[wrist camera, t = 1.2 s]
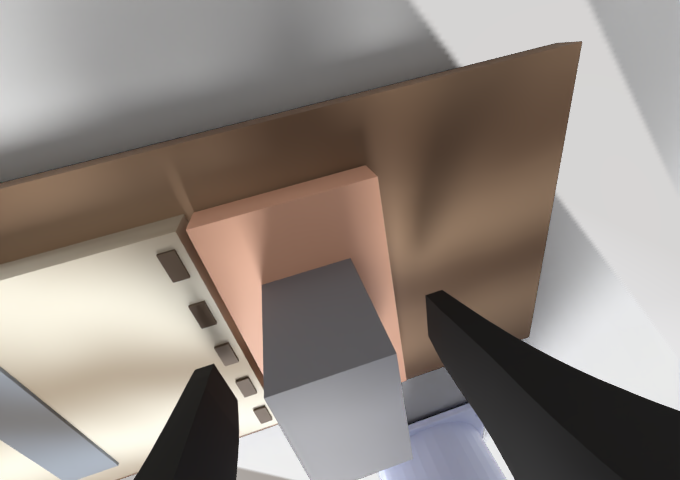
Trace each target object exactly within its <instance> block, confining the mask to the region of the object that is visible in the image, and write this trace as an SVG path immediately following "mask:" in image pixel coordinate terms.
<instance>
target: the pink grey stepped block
mask: <svg viewBox="0 0 680 480" xmlns="http://www.w3.org/2000/svg"><path fill="white" fill-rule="evenodd" d="M186 232H187V234H188V236H189V238H190V239H191V241H192V243H193V245H194V247H195V249H196V251H197V253H198V254H199V256H200V258H201V260H202V262H203V264H204V266H205V267H206V269H207V271H208V273H209V275H210V277H211V279H212V281H213V282H214V284H215V286H216V288H217V290H218V292H219V294H220V296H221V297H222V299H223V301H224V303H225V305H226V307H227V309H228V310H229V312H230V314H231V316H232V318H233V320H234V322H235V324H236V325H237V327H238V329H239V331H240V333H241V335H242V337H243V339H244V340H245V342H246V344H247V346H248V348H249V350H250V352H251V354H252V355H253V357H254V359H255V361H256V363H257V365H258V367H259V368H260V370H261V372H262V374H263V381H264V400H265V401H266V403H267V405H268V407H269V408H270V410H271V412H272V414H273V415H274V417H275V419H276V421H277V422H278V424H279V426H280V428H281V429H282V431H283V433H284V435H285V436H286V438H287V440H288V442H289V444H290V445H291V447H292V449H293V451H294V452H295V454H296V456H297V458H298V459H299V461H300V463H301V465H302V466H303V468H304V470H305V472H306V473H307V475H308V477H309V479H310V480H358V479H361V478H364V477H366V476H369V475H372V474H374V473H377V472H380V471H382V470H385V469H388V468H390V467H393V466H396V465H398V464H401V463H404V462H406V461H409V460H412V459H413V455H412V448H411V442H410V435H409V429H408V423H407V416H406V410H405V404H404V397H403V391H402V385H401V382H404V381H407V380H406V373H405V366H404V359H403V352H402V345H401V338H400V331H399V324H398V317H397V310H396V302H395V295H394V288H393V281H392V274H391V267H390V260H389V253H388V246H387V239H386V232H385V224H384V217H383V210H382V203H381V196H380V189H379V182H378V176H377V175H376V174H375V173H373V172H372V171H371V170H370V169H369V168H368V167H367V166H366V165H364V166H361V167H357V168H353V169H350V170H346V171H342V172H339V173H335V174H332V175H328V176H324V177H321V178H317V179H313V180H310V181H306V182H302V183H299V184H295V185H292V186H288V187H284V188H281V189H277V190H273V191H270V192H266V193H263V194H259V195H255V196H252V197H248V198H244V199H241V200H237V201H233V202H230V203H226V204H223V205H219V206H215V207H212V208H208V209H204V210H201V211H197V212H194V213H193V214H192V216H191V219H190V221H189V223H188V226H187V228H186Z"/></svg>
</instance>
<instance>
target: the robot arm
mask: <svg viewBox="0 0 680 480" xmlns="http://www.w3.org/2000/svg"><path fill="white" fill-rule="evenodd" d="M425 298H426V312H427V326H428V337H429V339H430V341H431V342H432V344H433V346H434V348H435V350H436V352H437V354H438V356H439V358H440V360H441V362H442V363H443V365H444V367H445V368H446V370H447V371H448V373H449V374H450V376H451V377H452V379H453V380H454V382H455V383H456V385H457V386H458V388H459V389H460V391H461V392H462V394H463V395H464V396H465V398H466V399H467V401H468V402H469V403H468V404H465V405H462V406H459V407H457V408H454V409H451V410H448V411H446V412H443V413H440V414H437V415H435V416H432V417H429V418H426V419H424V420H421V421H418V422H415V423H413V424H410V425H408V429H409V435H410V442H411V448H412V455H413V459H412V460H409V461H406V462H404V463H401V464H398V465H396V466H393V467H390V468H388V469H385V470H382V471H380V472H379V475H380V479H381V480H507V479H506V477H505V476H504V474H503V472H502V471H501V469H500V467H499V466H498V464H497V462H496V461H495V459H494V457H493V456H492V454H491V452H490V451H489V449H488V447H487V446H486V444H485V442H484V441H483V428H484V426H485V428H486V430H487V431H488V433H489V434H490V436H491V438H492V439H493V441H494V443H495V444H496V446H497V448H498V450H499V452H500V453H501V455H502V457H503V459H504V461H505V462H506V464H507V466H508V468H509V470H510V471H511V473H512V475H513V477H514V479H515V480H680V411H678V410H675V409H673V408H670V407H667V406H664V405H662V404H659V403H656V402H653V401H651V400H648V399H646V398H643V397H641V396H638V395H636V394H633V393H631V392H629V391H626V390H624V389H621V388H619V387H617V386H614V385H612V384H609V383H607V382H604V381H602V380H600V379H597V378H595V377H593V376H591V375H588V374H586V373H584V372H582V371H580V370H577V369H575V368H573V367H571V366H569V365H567V364H565V363H563V362H561V361H559V360H557V359H555V358H553V357H551V356H549V355H547V354H545V353H543V352H542V351H540V350H538V349H536V348H534V347H532V346H531V345H529V344H527V343H525V342H523V341H522V340H520V339H518V338H516V337H515V336H513V335H511V334H510V333H508V332H506V331H505V330H503V329H501V328H500V327H498V326H497V325H495V324H493V323H492V322H490V321H489V320H487V319H485V318H484V317H482V316H481V315H479V314H478V313H476V312H475V311H473V310H472V309H470V308H469V307H467V306H466V305H464V304H463V303H461V302H460V301H458V300H457V299H455V298H454V297H452V296H451V295H449V294H448V293H446V292H445V291H443V290H440V291H437V292H434V293H431V294H427V295H425ZM238 446H239V413H238V400H237V398H236V397H235V395H234V394H233V392H232V390H231V389H230V387H229V386H228V384H227V383H226V381H225V380H224V378H223V377H222V375H221V374H220V372H219V370H218V369H217V367H216V366H215V364H211V365H208V366H205V367H202V368H198V369H195V370H194V372H193V374H192V376H191V377H190V379H189V381H188V383H187V385H186V387H185V389H184V391H183V392H182V394H181V396H180V398H179V400H178V402H177V404H176V406H175V408H174V410H173V411H172V413H171V415H170V417H169V419H168V421H167V423H166V424H165V426H164V428H163V430H162V432H161V433H160V435H159V437H158V439H157V441H156V442H155V444H154V446H153V448H152V450H151V451H150V453H149V455H148V457H147V458H146V460H145V462H144V463H143V465H142V467H141V468H140V470H139V472H138V473H137V475H136V477H135V478H134V480H236V474H237V461H238Z"/></svg>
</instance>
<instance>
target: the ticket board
mask: <svg viewBox="0 0 680 480" xmlns="http://www.w3.org/2000/svg"><path fill="white" fill-rule="evenodd" d="M581 46H582V41H580V42H565V43H555V44H551V45H547V46H543V47H539V48H535V49H531V50H527V51H523V52H519V53H515V54H511V55H508V56H503V57H499V58H495V59H491V60H487V61H483V62H480V63H475V64H472V65H468V66H464V67H460V68H456V69H452V70H448V71H444V72H440V73H436V74H432V75H428V76H424V77H420V78H416V79H412V80H408V81H404V82H400V83H396V84H392V85H388V86H384V87H380V88H376V89H372V90H368V91H364V92H360V93H356V94H352V95H348V96H344V97H340V98H336V99H332V100H329V101H325V102H321V103H317V104H313V105H309V106H305V107H301V108H297V109H293V110H289V111H285V112H281V113H277V114H273V115H269V116H265V117H261V118H257V119H253V120H249V121H245V122H241V123H237V124H233V125H229V126H225V127H221V128H217V129H213V130H209V131H205V132H201V133H197V134H193V135H189V136H186V137H182V138H178V139H174V140H170V141H166V142H162V143H158V144H154V145H150V146H146V147H142V148H138V149H134V150H130V151H126V152H122V153H118V154H114V155H110V156H106V157H102V158H98V159H94V160H90V161H86V162H82V163H78V164H74V165H70V166H66V167H62V168H58V169H54V170H50V171H46V172H43V173H39V174H35V175H31V176H27V177H23V178H19V179H15V180H11V181H7V182H3V183H0V480H120V479H123V478H126V477H129V476H131V475H134V474H137V473H138V472H139V470H140V468H141V467H142V465H143V463H144V462H145V460H146V458H147V457H148V455H149V453H150V451H151V450H152V448H153V446H154V444H155V442H156V441H157V439H158V437H159V435H160V433H161V432H162V430H163V428H164V426H165V424H166V423H167V421H168V419H169V417H170V415H171V413H172V411H173V410H174V408H175V406H176V404H177V402H178V400H179V398H180V396H181V394H182V392H183V391H184V389H185V387H186V385H187V383H188V381H189V379H190V377H191V376H192V374H193V372H194V370H195V369H198V368H202V367H205V366H208V365H211V364H215V366H216V367H217V369H218V370H219V372H220V374H221V375H222V377H223V378H224V380H225V381H226V383H227V384H228V386H229V387H230V389H231V390H232V392H233V394H234V395H235V397H236V398H237V400H238V413H239V438H241V437H243V436H246V435H249V434H252V433H255V432H258V431H261V430H264V429H266V428H269V427H272V426H275V425H278V422H277V421H276V419H275V417H274V415H273V414H272V412H271V410H270V408H269V407H268V405H267V403H266V401H265V400H264V381H263V374H262V372H261V370H260V368H259V367H258V365H257V363H256V361H255V359H254V357H253V355H252V354H251V352H250V350H249V348H248V346H247V344H246V342H245V340H244V339H243V337H242V335H241V333H240V331H239V329H238V327H237V325H236V324H235V322H234V320H233V318H232V316H231V314H230V312H229V310H228V309H227V307H226V305H225V303H224V301H223V299H222V297H221V296H220V294H219V292H218V290H217V288H216V286H215V284H214V282H213V281H212V279H211V277H210V275H209V273H208V271H207V269H206V267H205V266H204V264H203V262H202V260H201V258H200V256H199V254H198V253H197V251H196V249H195V247H194V245H193V243H192V241H191V239H190V238H189V236H188V234H187V232H186V228H187V226H188V223H189V221H190V219H191V216H192V214H193V213H194V212H197V211H201V210H204V209H208V208H212V207H215V206H219V205H223V204H226V203H230V202H233V201H237V200H241V199H244V198H248V197H252V196H255V195H259V194H263V193H266V192H270V191H273V190H277V189H281V188H284V187H288V186H292V185H295V184H299V183H302V182H306V181H310V180H313V179H317V178H321V177H324V176H328V175H332V174H335V173H339V172H342V171H346V170H350V169H353V168H357V167H361V166H364V165H366V166H367V167H368V168H369V169H370V170H371V171H372V172H373V173H375V174H376V175H377V176H378V182H379V189H380V196H381V203H382V210H383V217H384V224H385V232H386V239H387V246H388V253H389V260H390V267H391V274H392V281H393V288H394V295H395V302H396V310H397V317H398V324H399V331H400V338H401V345H402V352H403V359H404V366H405V373H406V380H407V379H410V378H413V377H416V376H419V375H422V374H424V373H427V372H430V371H433V370H436V369H439V368H442V367H444V365H443V363H442V362H441V360H440V358H439V356H438V354H437V352H436V350H435V348H434V346H433V344H432V342H431V341H430V339H429V337H428V326H427V312H426V298H425V295H427V294H431V293H434V292H437V291H440V290H443V291H445V292H446V293H448V294H449V295H451V296H452V297H454V298H455V299H457V300H458V301H460V302H461V303H463V304H464V305H466V306H467V307H469V308H470V309H472V310H473V311H475V312H476V313H478V314H479V315H481V316H482V317H484V318H485V319H487V320H489V321H490V322H492V323H493V324H495V325H497V326H498V327H500V328H501V329H503V330H505V331H506V332H508V333H510V334H511V335H513V336H515V337H516V338H518V339H520V340H522V339H525V338H528V337H529V335H530V329H531V323H532V318H533V312H534V307H535V301H536V296H537V290H538V284H539V279H540V273H541V268H542V262H543V257H544V251H545V246H546V240H547V234H548V229H549V223H550V218H551V212H552V207H553V201H554V196H555V190H556V184H557V179H558V173H559V168H560V162H561V157H562V151H563V146H564V140H565V134H566V129H567V123H568V118H569V112H570V107H571V101H572V95H573V90H574V84H575V79H576V73H577V67H578V62H579V57H580V51H581Z"/></svg>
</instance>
